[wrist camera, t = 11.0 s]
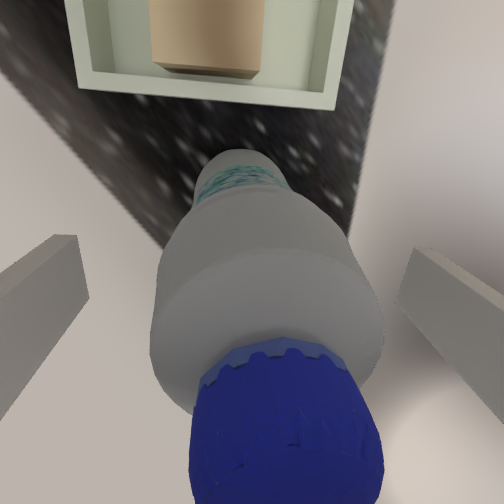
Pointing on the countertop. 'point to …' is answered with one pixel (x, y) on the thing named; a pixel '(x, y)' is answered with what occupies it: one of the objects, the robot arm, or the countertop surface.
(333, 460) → the bottle
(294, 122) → the countertop surface
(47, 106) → the countertop surface
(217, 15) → the cube
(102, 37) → the tote
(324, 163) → the countertop surface
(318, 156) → the countertop surface
